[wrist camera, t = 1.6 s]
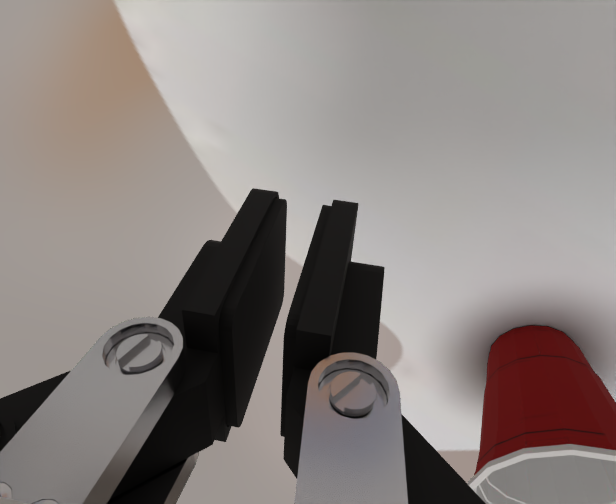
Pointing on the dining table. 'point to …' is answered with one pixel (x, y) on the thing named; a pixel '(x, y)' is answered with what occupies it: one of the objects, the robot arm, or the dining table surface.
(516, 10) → the dining table surface
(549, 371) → the plastic cup
